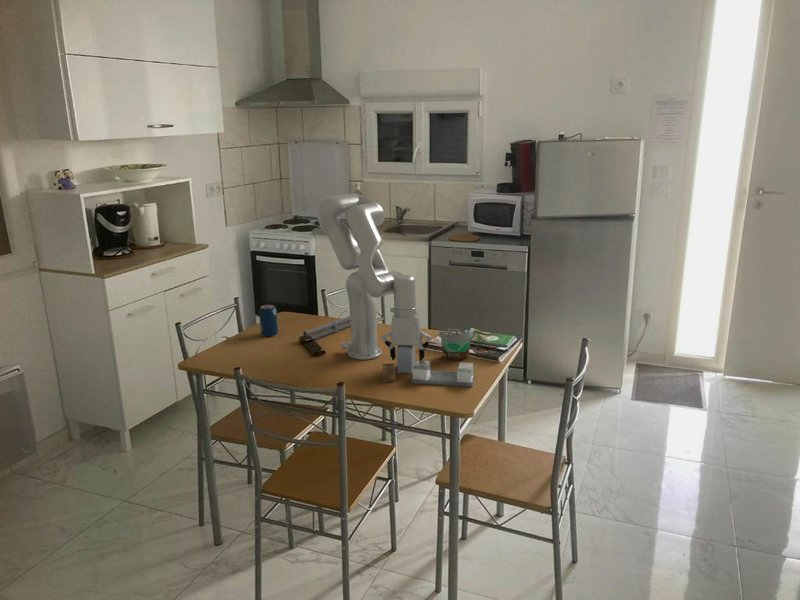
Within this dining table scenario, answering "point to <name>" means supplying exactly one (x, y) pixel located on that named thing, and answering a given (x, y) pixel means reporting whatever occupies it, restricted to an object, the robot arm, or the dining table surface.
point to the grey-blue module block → (405, 358)
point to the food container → (455, 344)
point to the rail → (443, 375)
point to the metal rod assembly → (331, 325)
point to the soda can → (268, 320)
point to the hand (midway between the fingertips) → (407, 359)
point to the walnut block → (388, 372)
